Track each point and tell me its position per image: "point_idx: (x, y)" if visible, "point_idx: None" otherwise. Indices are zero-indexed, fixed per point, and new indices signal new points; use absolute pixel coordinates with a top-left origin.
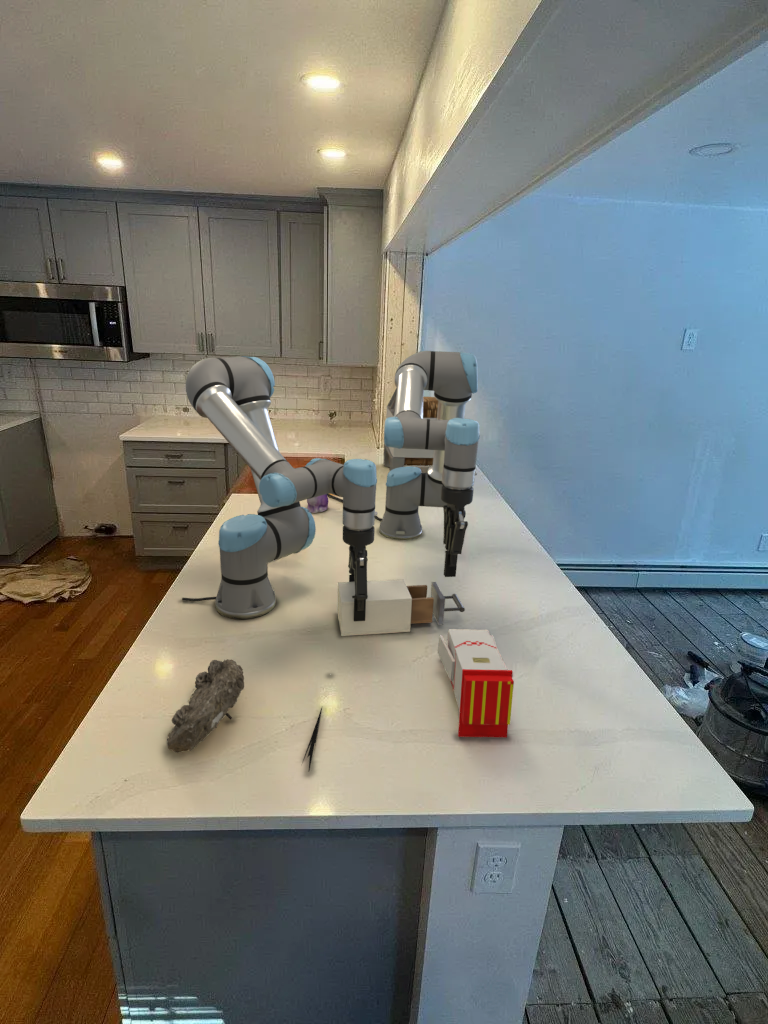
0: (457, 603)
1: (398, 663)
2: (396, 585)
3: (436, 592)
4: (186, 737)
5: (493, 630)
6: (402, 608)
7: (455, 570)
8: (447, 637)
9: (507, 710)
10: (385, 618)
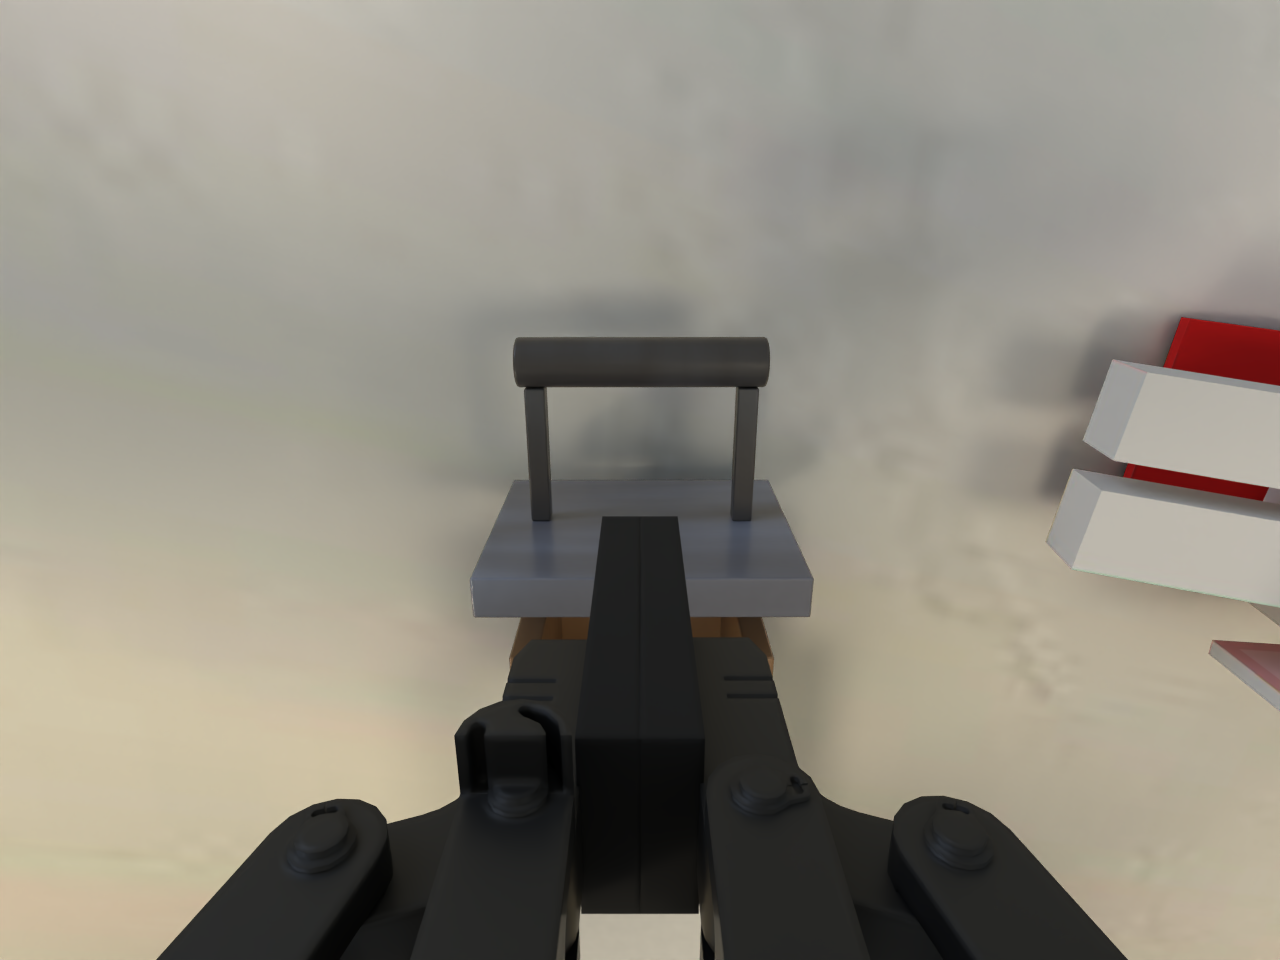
0: (682, 383)
1: (1040, 764)
2: (582, 914)
3: None
4: None
5: (836, 84)
6: None
7: (679, 563)
8: (1053, 548)
9: None
10: None
